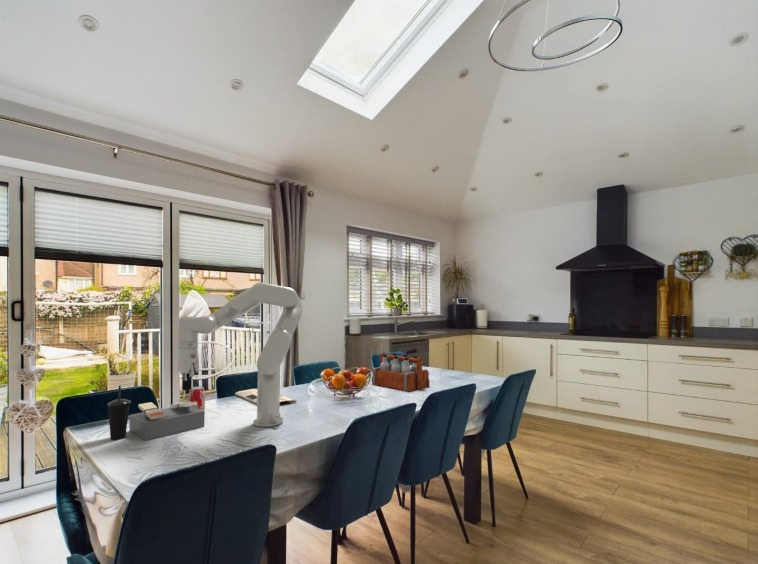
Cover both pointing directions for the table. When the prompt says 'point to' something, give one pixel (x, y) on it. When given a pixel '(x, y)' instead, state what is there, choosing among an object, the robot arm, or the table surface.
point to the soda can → (197, 397)
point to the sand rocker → (151, 410)
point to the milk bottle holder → (400, 373)
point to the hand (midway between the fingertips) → (186, 389)
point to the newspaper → (252, 396)
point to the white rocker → (184, 404)
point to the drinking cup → (118, 417)
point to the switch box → (167, 422)
